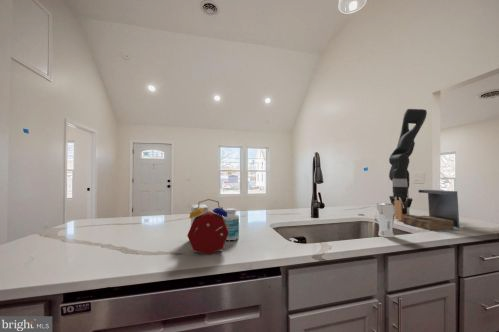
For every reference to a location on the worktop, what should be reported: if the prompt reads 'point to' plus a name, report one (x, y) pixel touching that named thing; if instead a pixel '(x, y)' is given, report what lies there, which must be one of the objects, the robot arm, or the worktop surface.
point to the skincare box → (198, 208)
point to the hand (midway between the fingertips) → (400, 213)
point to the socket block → (428, 222)
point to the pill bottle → (232, 224)
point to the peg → (399, 210)
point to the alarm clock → (208, 230)
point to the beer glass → (385, 219)
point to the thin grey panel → (443, 205)
